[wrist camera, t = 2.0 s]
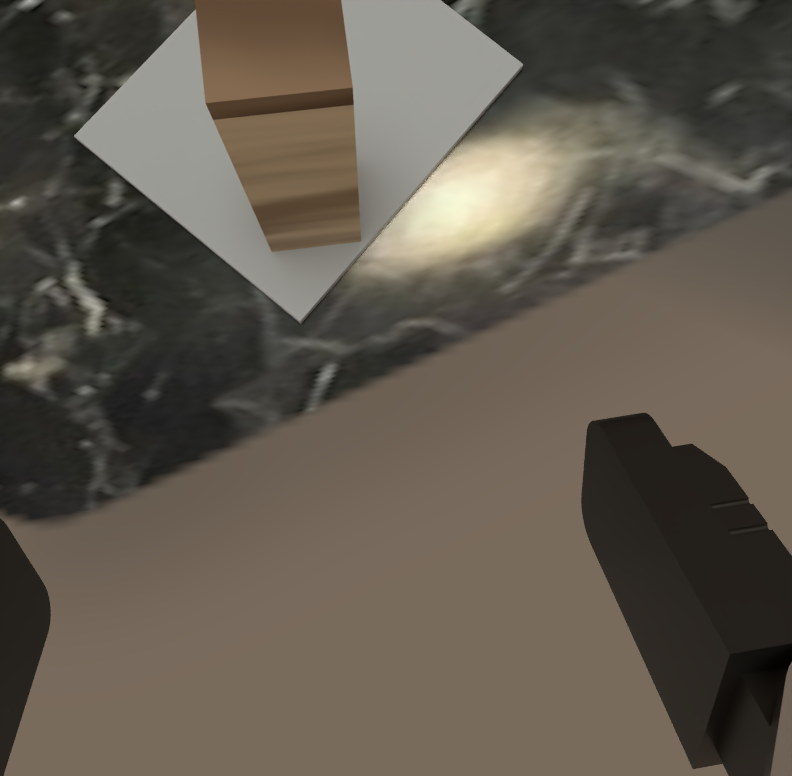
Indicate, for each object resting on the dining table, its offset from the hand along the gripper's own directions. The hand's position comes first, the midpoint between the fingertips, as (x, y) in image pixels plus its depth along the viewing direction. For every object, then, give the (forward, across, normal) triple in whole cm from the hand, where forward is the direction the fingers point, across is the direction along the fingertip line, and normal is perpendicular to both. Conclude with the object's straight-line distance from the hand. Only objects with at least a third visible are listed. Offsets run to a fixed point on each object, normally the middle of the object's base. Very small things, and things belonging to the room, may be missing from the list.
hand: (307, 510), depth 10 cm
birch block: (+28, 0, +6) cm, 28 cm away
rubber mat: (+32, 0, +3) cm, 32 cm away
